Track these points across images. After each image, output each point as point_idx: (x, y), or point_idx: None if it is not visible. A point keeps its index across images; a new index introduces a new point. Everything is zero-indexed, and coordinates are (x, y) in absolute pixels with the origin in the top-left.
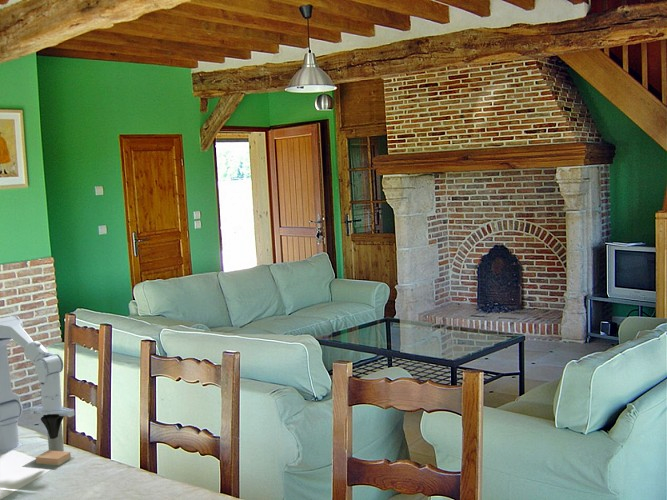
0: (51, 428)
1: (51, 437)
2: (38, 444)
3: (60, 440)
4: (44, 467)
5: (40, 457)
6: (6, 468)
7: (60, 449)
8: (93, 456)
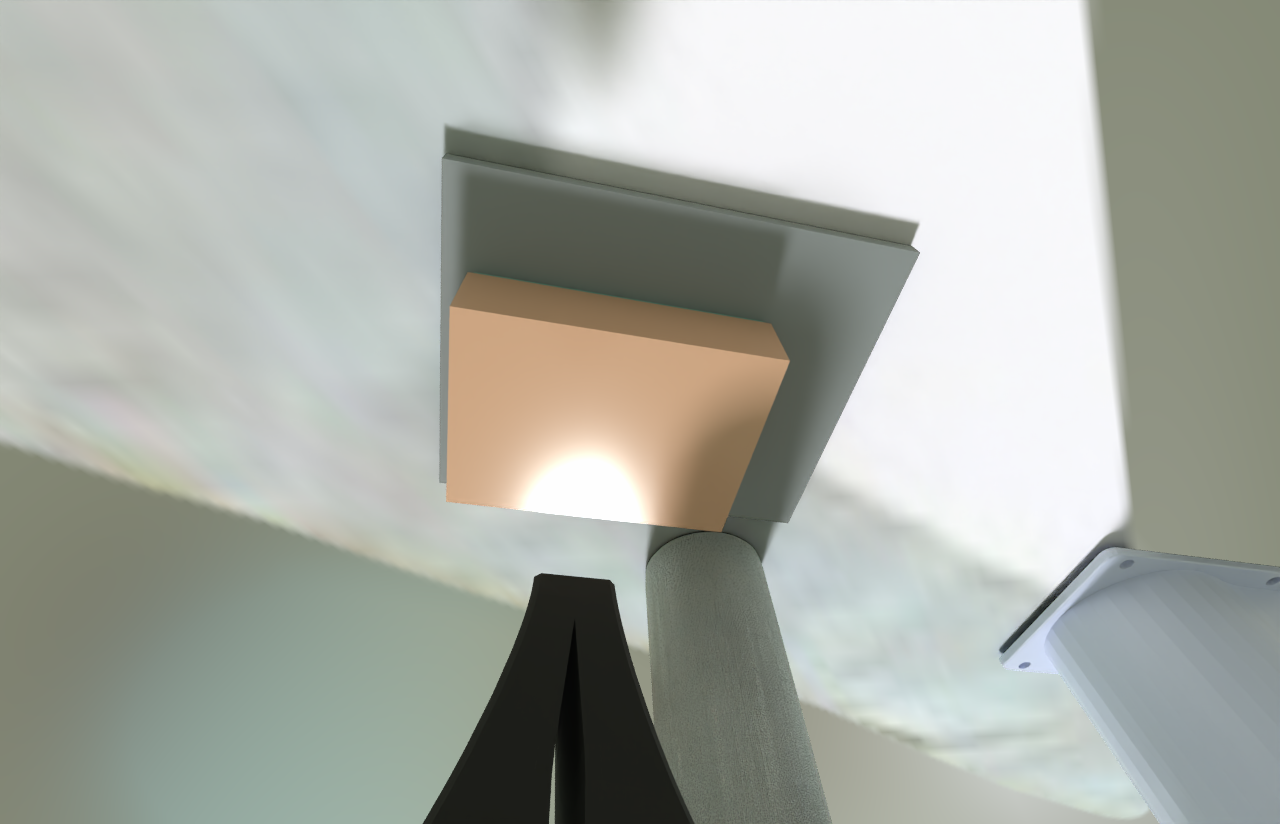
0: (512, 781)
1: (575, 594)
2: (902, 668)
3: (658, 665)
4: (625, 227)
5: (723, 349)
6: (1092, 229)
7: (654, 585)
8: (323, 528)
